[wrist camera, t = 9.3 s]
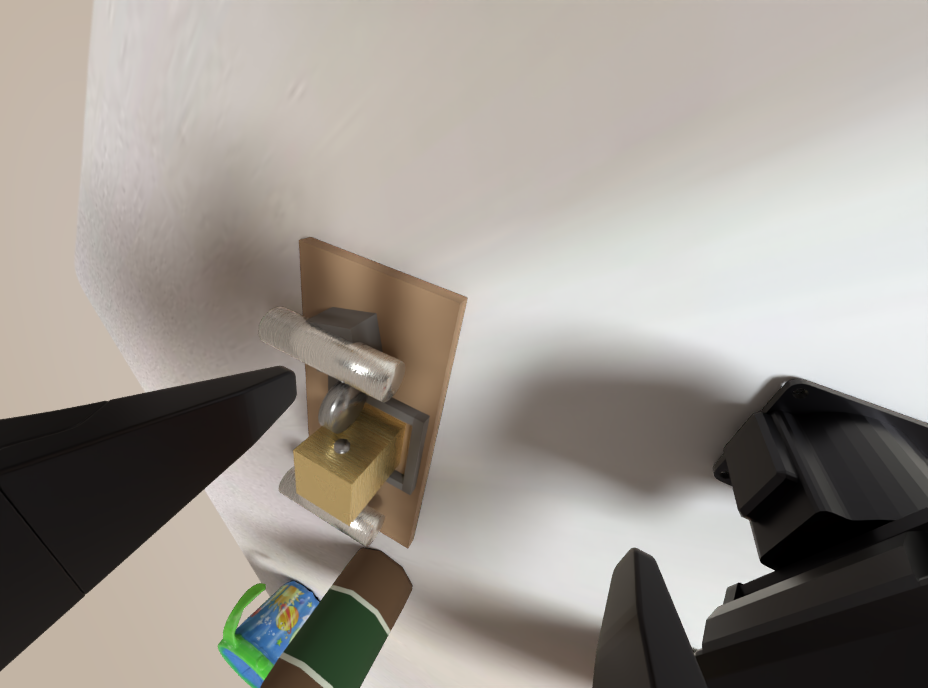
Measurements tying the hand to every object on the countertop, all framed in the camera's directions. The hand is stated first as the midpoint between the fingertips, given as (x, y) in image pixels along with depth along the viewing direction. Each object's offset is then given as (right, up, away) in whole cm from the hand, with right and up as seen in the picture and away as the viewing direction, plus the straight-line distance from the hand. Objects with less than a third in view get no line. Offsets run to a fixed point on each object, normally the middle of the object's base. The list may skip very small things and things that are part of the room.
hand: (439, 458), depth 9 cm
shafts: (-8, -4, +19) cm, 21 cm away
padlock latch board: (-7, -3, +21) cm, 22 cm away
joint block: (-6, -4, +20) cm, 21 cm away
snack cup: (-23, -35, +46) cm, 62 cm away
